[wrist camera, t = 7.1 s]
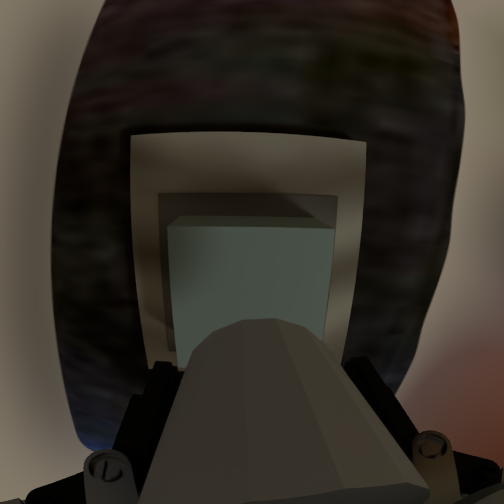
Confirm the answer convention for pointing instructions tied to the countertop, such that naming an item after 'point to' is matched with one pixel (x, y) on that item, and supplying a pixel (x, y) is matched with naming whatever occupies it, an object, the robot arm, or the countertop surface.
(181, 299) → the sage block
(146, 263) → the board
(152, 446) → the robot arm
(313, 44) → the countertop surface
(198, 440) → the grey tapered cup
